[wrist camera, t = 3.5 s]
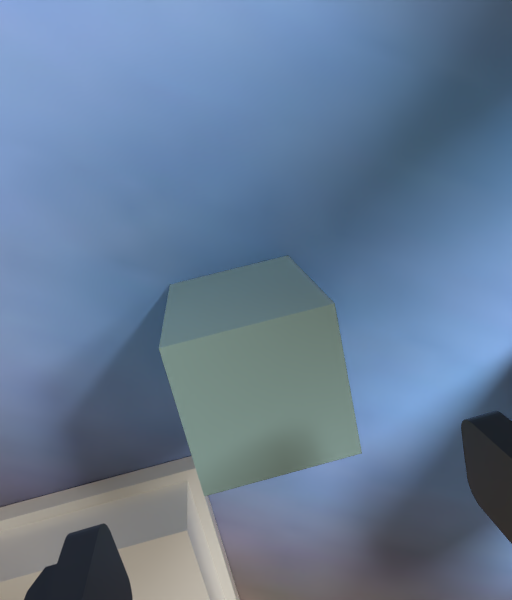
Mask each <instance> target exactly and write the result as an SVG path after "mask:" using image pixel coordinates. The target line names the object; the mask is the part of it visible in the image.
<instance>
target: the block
mask: <svg viewBox="0 0 512 600" xmlns="http://www.w3.org/2000/svg"><path fill="white" fill-rule="evenodd" d="M159 351H160V354H161V357H162V361H163V364H164V367H165V370H166V374H167V377H168V380H169V383H170V387H171V390H172V393H173V396H174V400H175V403H176V406H177V409H178V413H179V416H180V419H181V422H182V426H183V429H184V432H185V435H186V439H187V442H188V445H189V448H190V452H191V455H192V458H193V461H194V465H195V468H196V471H197V474H198V478H199V481H200V484H201V487H202V491H203V494H204V496H207V495H211V494H215V493H218V492H222V491H226V490H229V489H233V488H236V487H240V486H244V485H247V484H251V483H255V482H258V481H262V480H266V479H269V478H273V477H277V476H280V475H284V474H288V473H291V472H295V471H299V470H302V469H306V468H310V467H313V466H317V465H321V464H324V463H328V462H332V461H335V460H339V459H343V458H346V457H350V456H354V455H357V454H361V453H362V452H361V446H360V441H359V435H358V430H357V424H356V419H355V413H354V408H353V402H352V397H351V391H350V386H349V380H348V375H347V369H346V364H345V358H344V353H343V347H342V342H341V336H340V331H339V325H338V320H337V314H336V308H335V303H334V302H333V301H332V300H331V299H330V298H329V297H328V296H327V295H326V294H325V293H324V292H323V291H322V290H321V289H320V288H319V287H318V286H317V285H316V284H315V283H314V282H313V281H312V280H311V279H310V278H309V277H308V276H307V275H306V274H305V273H304V271H303V270H302V269H301V268H300V267H299V266H298V265H297V264H296V263H295V262H294V261H293V260H292V259H291V258H290V257H289V256H288V255H287V256H283V257H279V258H275V259H270V260H266V261H262V262H258V263H254V264H250V265H246V266H242V267H238V268H234V269H230V270H226V271H222V272H218V273H214V274H210V275H206V276H202V277H198V278H194V279H190V280H186V281H182V282H178V283H174V284H170V286H169V292H168V297H167V303H166V309H165V315H164V320H163V326H162V332H161V338H160V343H159Z"/></svg>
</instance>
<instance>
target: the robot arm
mask: <svg viewBox="0 0 512 600" xmlns="http://www.w3.org/2000/svg"><path fill="white" fill-rule="evenodd" d="M461 431H462V439H463V447H464V455H465V463H466V472H467V479H468V483H469V486H470V489H471V491H472V494H473V496H474V498H475V499H476V501H477V503H478V504H479V506H480V507H481V508H482V509H483V511H484V512H485V513H486V514H487V515H488V516H489V518H490V519H491V520H492V521H493V522H494V523H495V525H496V526H497V527H498V528H499V529H500V530H501V532H502V533H503V534H504V535H505V536H506V537H507V539H508V540H509V541H510V542H511V543H512V421H511V420H509V419H508V418H507V417H506V416H504V415H503V414H502V413H500V412H498V411H494V412H490V413H487V414H483V415H480V416H476V417H473V418H470V419H466V420H464V421H463V422H462V425H461ZM24 600H133V599H132V590H131V585H130V581H129V577H128V575H127V572H126V570H125V567H124V565H123V562H122V560H121V557H120V554H119V552H118V549H117V547H116V544H115V542H114V539H113V537H112V534H111V532H110V529H109V528H108V526H107V525H106V524H104V523H103V524H99V525H96V526H93V527H89V528H86V529H82V530H79V531H75V532H72V533H69V534H68V535H67V536H66V538H65V541H64V544H63V547H62V550H61V553H60V556H59V559H58V562H57V564H54V565H51V566H47V567H45V568H44V569H43V571H42V572H41V573H40V575H39V576H38V577H37V579H36V580H35V581H34V583H33V584H32V585H31V587H30V588H29V589H28V591H27V593H26V596H25V598H24Z"/></svg>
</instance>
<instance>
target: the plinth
mask: <svg viewBox="0 0 512 600" xmlns="http://www.w3.org/2000/svg"><path fill="white" fill-rule="evenodd" d="M103 523H104V524H106V525H107V526H108V528H109V529H110V532H111V534H112V537H113V539H114V542H115V544H116V547H117V549H118V552H119V554H120V557H121V560H122V562H123V565H124V567H125V570H126V572H127V575H128V577H129V581H130V585H131V590H132V599H133V600H240V599H239V596H238V592H237V589H236V586H235V582H234V579H233V576H232V573H231V569H230V566H229V563H228V559H227V556H226V553H225V550H224V546H223V543H222V540H221V537H220V533H219V530H218V527H217V523H216V520H215V517H214V514H213V510H212V507H211V504H210V500H209V497H208V495H207V496H204V494H203V491H202V487H201V484H200V481H199V478H198V474H197V471H196V468H195V465H194V461H193V458H192V456H189V457H186V458H182V459H178V460H174V461H171V462H167V463H163V464H160V465H156V466H152V467H148V468H145V469H141V470H137V471H134V472H130V473H126V474H122V475H119V476H115V477H111V478H108V479H104V480H100V481H96V482H93V483H89V484H85V485H82V486H78V487H74V488H70V489H67V490H63V491H59V492H56V493H52V494H48V495H44V496H41V497H37V498H33V499H30V500H26V501H22V502H18V503H15V504H11V505H7V506H4V507H0V600H24V598H25V596H26V593H27V591H28V589H29V588H30V587H31V585H32V584H33V583H34V581H35V580H36V579H37V577H38V576H39V575H40V573H41V572H42V571H43V569H44V568H45V567H47V566H51V565H54V564H57V562H58V559H59V556H60V553H61V550H62V547H63V544H64V541H65V538H66V536H67V535H68V534H69V533H72V532H75V531H79V530H82V529H86V528H89V527H93V526H96V525H99V524H103Z"/></svg>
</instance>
